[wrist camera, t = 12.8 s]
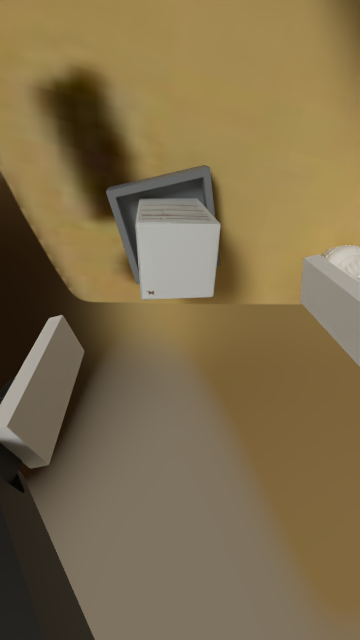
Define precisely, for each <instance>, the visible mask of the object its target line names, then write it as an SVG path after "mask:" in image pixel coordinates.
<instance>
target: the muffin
mask: <svg viewBox="0 0 360 640" xmlns="http://www.w3.org/2000/svg"><path fill="white" fill-rule="evenodd" d="M321 256H322V257H323V258H324V259H326V260H327V261H329V262H330V263H332V264H333V265H335V266H336V267H337V268H339V269H340V270H342V271H343V272H345V273H346V274H348V275H349V276H350V277H352V278H353V279H355V280H356V281H358V282H359V283H360V247H359V246H355V245H350V246H349V245H346V246H345V245H343V246H338V247H334V248H330V249H328V250H326V251H325V252H324V253H323V254H322V255H321Z"/></svg>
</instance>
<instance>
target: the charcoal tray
mask: <svg viewBox="0 0 360 640" xmlns="http://www.w3.org/2000/svg"><path fill="white" fill-rule="evenodd" d="M106 193H107V196H108V199H109V202H110V205H111V208H112V211H113V214H114V217H115V220H116V223H117V226H118V230H119V233H120V236H121V239H122V242H123V245H124V248H125V251H126V254H127V257H128V260H129V263H130V266H131V269H132V272H133V275H134V278H135V281H136V284H139V283H140V277H139V267H138V252H137V239H136V227H135V225H136V216H137V210H138V205H139V199H140V198H197V199H198V200H199V201H200V202H201V203H202V204H203V205H204V206H205V207H206V208H207V210H208V211H209V212H210V213H211V214H212V215H213V216H214V217H215V212H214V202H213V193H212V184H211V174H210V167H208V166H206V165H203V166H198V167H194V168H190V169H186V170H181V171H177V172H173V173H168V174H164V175H160V176H156V177H151V178H147V179H143V180H138V181H134V182H130V183H126V184H121V185H117V186H113V187H109V188H108V189H107V191H106ZM217 266H220V258H219V249H218V259H217Z"/></svg>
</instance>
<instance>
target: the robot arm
mask: <svg viewBox="0 0 360 640" xmlns="http://www.w3.org/2000/svg"><path fill="white" fill-rule="evenodd" d="M300 302H301V303H302V304H303V305H304V306H305V307H306V309H307V310H308V311H309V312H310V313H311V314H312V315H313V316H314V317H315V318H316V320H317V321H318V322H319V323H320V324H321V325H322V326H323V327H324V328H325V329H326V330H327V332H328V333H329V334H330V335H331V336H332V337H333V338H334V339H335V340H336V341H337V343H338V344H339V345H340V346H341V347H342V348H343V349H344V350H345V351H346V352H347V353H348V355H349V356H350V357H351V358H352V359H353V360H354V361H355V362H356V363H357V364H358V366H359V367H360V283H359V282H358V281H356V280H355V279H353V278H352V277H350V276H349V275H348V274H346V273H345V272H343V271H342V270H340V269H339V268H337V267H336V266H335V265H333V264H332V263H330V262H329V261H327V260H326V259H324V258H323V257H322V256H320V255H319V254H318V255H314V256H310V257H305V258H304V260H303V274H302V287H301V300H300ZM83 354H84V350H83V348H82V347H81V345H80V343H79V342H78V340H77V338H76V337H75V335H74V333H73V332H72V330H71V328H70V327H69V325H68V323H67V322H66V320H65V318H64V316H63V315H61V316H57V317H52V318H49V320H48V321H47V323H46V325H45V327H44V328H43V330H42V332H41V334H40V336H39V337H38V339H37V341H36V342H35V344H34V346H33V348H32V349H31V351H30V353H29V355H28V357H27V358H26V360H25V362H24V364H23V366H22V367H21V369H20V371H19V372H18V374H17V376H16V377H15V378H12V379H11V380H10V381H9V382H8V383H7V384H6V385H5V386H4V387H3V388H2V390H1V391H0V640H95V639H94V637H93V635H92V633H91V631H90V628H89V626H88V624H87V621H86V619H85V617H84V614H83V612H82V610H81V607H80V605H79V603H78V600H77V598H76V596H75V594H74V591H73V589H72V587H71V584H70V582H69V580H68V578H67V575H66V573H65V571H64V568H63V566H62V564H61V561H60V560H59V557H58V555H57V552H56V550H55V548H54V545H53V543H52V541H51V539H50V536H49V534H48V532H47V529H46V527H45V525H44V523H43V520H42V518H41V516H40V513H39V511H38V509H37V507H36V504H35V502H34V500H33V497H32V495H31V493H30V490H29V488H28V486H27V484H26V482H25V479H24V477H23V475H22V474H21V473H20V472H19V471H18V470H19V468H20V465H21V463H22V462H23V463H24V464H26V465H27V466H28V467H29V468H35V467H40V466H45V465H48V464H49V462H50V459H51V456H52V453H53V450H54V446H55V443H56V440H57V437H58V434H59V430H60V427H61V424H62V421H63V418H64V415H65V411H66V408H67V405H68V402H69V399H70V395H71V392H72V389H73V386H74V383H75V379H76V376H77V373H78V370H79V367H80V363H81V360H82V357H83Z"/></svg>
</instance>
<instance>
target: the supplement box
mask: <svg viewBox="0 0 360 640" xmlns="http://www.w3.org/2000/svg"><path fill="white" fill-rule="evenodd" d="M135 227H136V239H137V252H138V267H139V277H140V291H141V299H142V300H147V299H173V298H200V297H213V294H214V287H215V278H216V268H217V259H218V249H219V239H220V228H221V224H220V223H219V222H218V221H217V219H216V218H215V217H214V216H213V215H212V214H211V213H210V212H209V211H208V210H207V208H206V207H205V206H204V205H203V204H202V203H201V202H200V201H199V200H198V199H197V198H140V199H139V205H138V210H137V216H136V225H135Z"/></svg>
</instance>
